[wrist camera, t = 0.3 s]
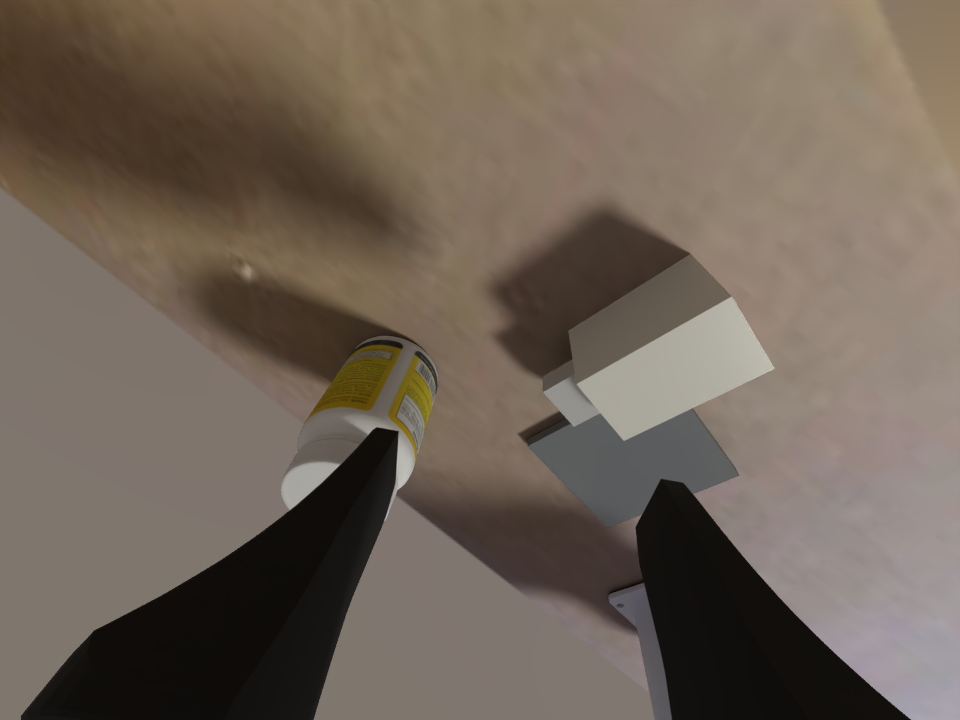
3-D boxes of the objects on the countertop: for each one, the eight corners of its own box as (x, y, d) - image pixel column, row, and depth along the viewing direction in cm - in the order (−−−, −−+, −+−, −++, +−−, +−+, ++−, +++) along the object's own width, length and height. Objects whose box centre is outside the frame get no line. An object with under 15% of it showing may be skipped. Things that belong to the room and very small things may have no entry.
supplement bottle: (336, 381, 23) (251, 508, 16) (371, 315, 21) (290, 430, 14) (414, 423, 24) (367, 559, 17) (457, 364, 22) (421, 494, 15)
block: (726, 314, 19) (774, 368, 16) (575, 397, 23) (584, 460, 19) (690, 253, 18) (731, 296, 14) (535, 350, 21) (536, 407, 18)
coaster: (735, 467, 24) (739, 475, 23) (605, 520, 27) (606, 528, 26) (662, 366, 21) (665, 373, 20) (527, 438, 24) (527, 446, 24)
